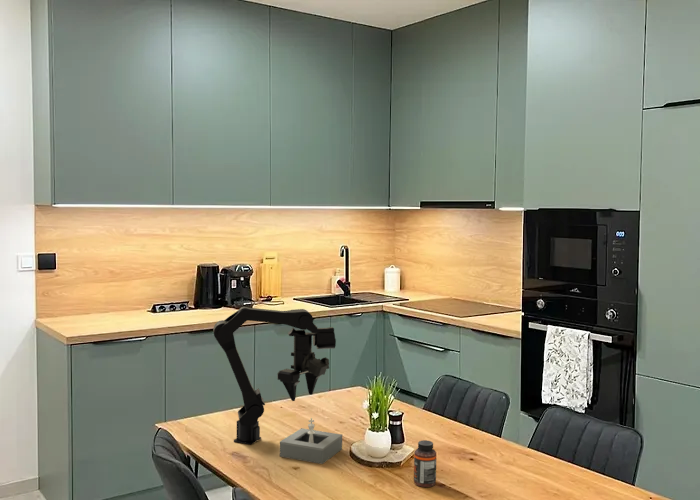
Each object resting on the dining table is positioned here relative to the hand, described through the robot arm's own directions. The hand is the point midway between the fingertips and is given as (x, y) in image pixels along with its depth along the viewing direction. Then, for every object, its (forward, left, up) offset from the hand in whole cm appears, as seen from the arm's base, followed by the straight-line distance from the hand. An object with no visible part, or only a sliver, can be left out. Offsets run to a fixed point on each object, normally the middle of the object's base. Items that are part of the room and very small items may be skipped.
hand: (302, 397), depth 222 cm
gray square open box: (+9, -11, -13) cm, 19 cm away
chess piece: (+9, -11, -13) cm, 19 cm away
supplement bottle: (+47, -19, -13) cm, 52 cm away
